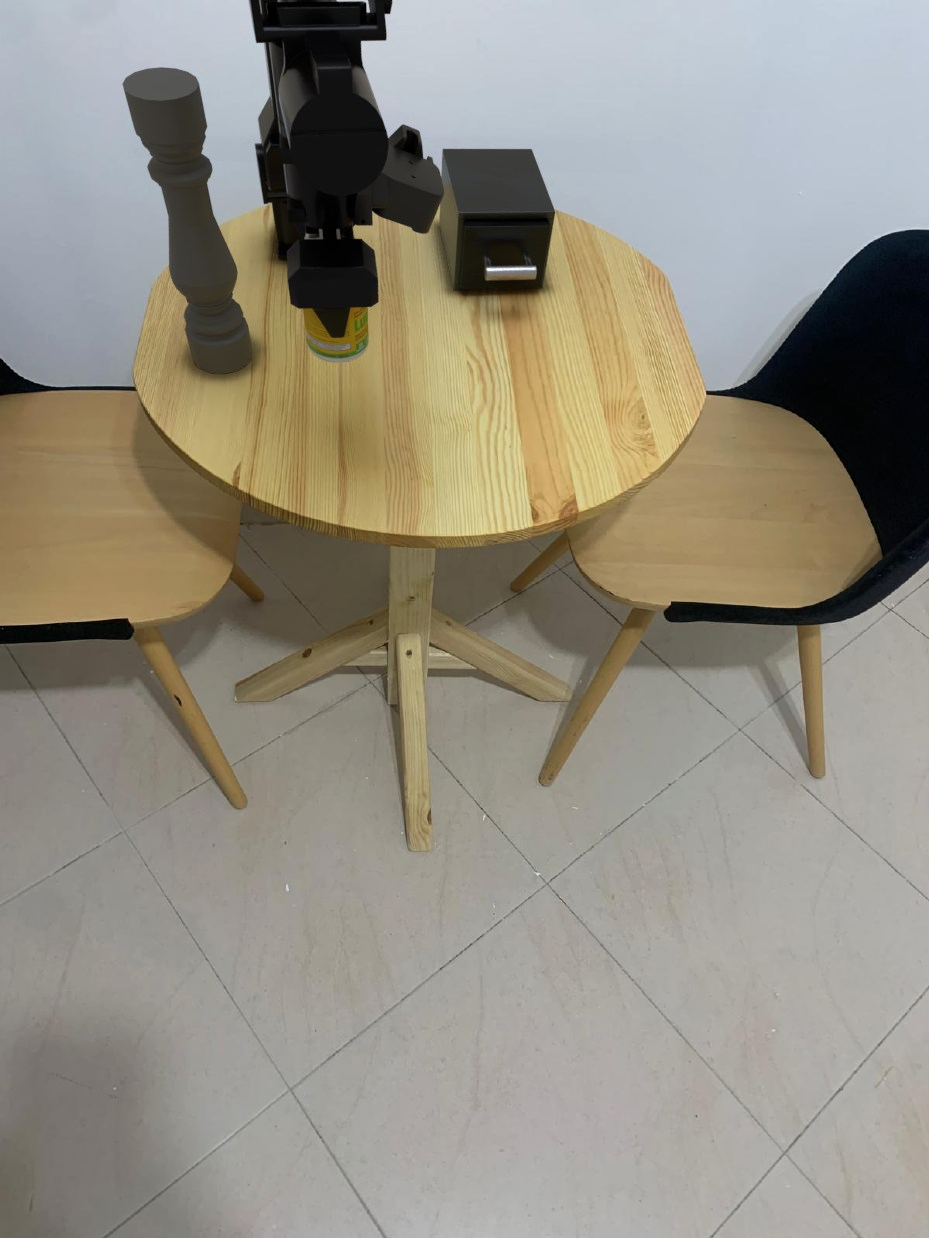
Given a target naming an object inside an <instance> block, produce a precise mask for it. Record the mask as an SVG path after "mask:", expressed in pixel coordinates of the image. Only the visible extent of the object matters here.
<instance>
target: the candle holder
mask: <svg viewBox="0 0 929 1238" xmlns="http://www.w3.org/2000/svg"><path fill="white" fill-rule="evenodd" d="M200 86H201V85H200V82H199V80H198V78H197V76H195V75H194V74H192V73H191V72H189V71H186V70H183V69H179V68H175V67H164V66H163V67H162V66H161V67H160V66H159V67H149V68H145V69H144V68H143V69H141V70H136V71H134V72H132V73H131V74H129V75H127V76H126V77H125V79H124V80H123V82H122V88H123V91H124V95H125V100H126V103H127V107H128V110H129V115H130V118H131V122H132V126H133V129H134V132H135V135H136V136H137V137H139V139H140V141H141V144H142V146H143V147H144V148H145V149H146V150H147V151H148V152H149V155H150V156H151V158H150V159H149V162H148V164H147V166H146V169H147V171H148V173H149V176H150V179H151V180H152V181H153V182H155V183H156V184H158V186H159V187H160V189H161V192H162V196H163V201H164V205H165V209H166V213H167V216H168V217H167V218H168V219H167V220H168V221H167V222H168V271H169V274H170V275H169V276H170V278H171V281H172V284H173V285H174V287H175V289H176V290H177V291H178V292H179V293H180V294H181V295H182V296H183V297H184V298H185V300H186V302H187V303H188V304H187V305H186V307H185V309H184V312H183V319H184V322H185V326H184V332H185V336H186V340H187V344H188V347H189V351H190V355H191V358H192V361H193V364H194V365H195V366H196V367H197V368H199V369H200V370H201V371H204V372H206V373H210V374H217V375H218V374H220V375H225V374H231V373H235V372H238V371H240V370H242V369H244V368H246V366H248V364H249V363H250V362H252V360H253V355H254V349H253V344H252V340H251V339H252V338H251V333H250V329H249V324H248V321H247V319H246V317H245V316H244V312H243V309H242V307H241V304H239V303H238V302H237V301H236V300H235V299H234V298H233V296H234V293H233V291H234V289H235V288H236V283H237V280H238V275H239V274H238V273H239V271H238V266H237V264H236V261H235V259H234V257H233V254H232V253H231V251H230V249H229V246H228V244H227V242H226V239H225V237H224V235H223V232H222V230H221V228H220V226H219V224H218V221H217V219H216V217H215V214H214V210H213V206H212V205H213V204H212V201H211V200H212V199H211V195H210V191H209V185H208V182H209V180H210V178H211V176H212V173H213V164H212V162H211V160H210V158H209V157H208V156H206V155H204V154H203V150H204V143H205V141H206V138H207V135H206V131H207V129H208V122H207V117H206V113H205V107H204V102H203V97H202V96H203V95H202V91H201V87H200Z"/></svg>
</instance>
